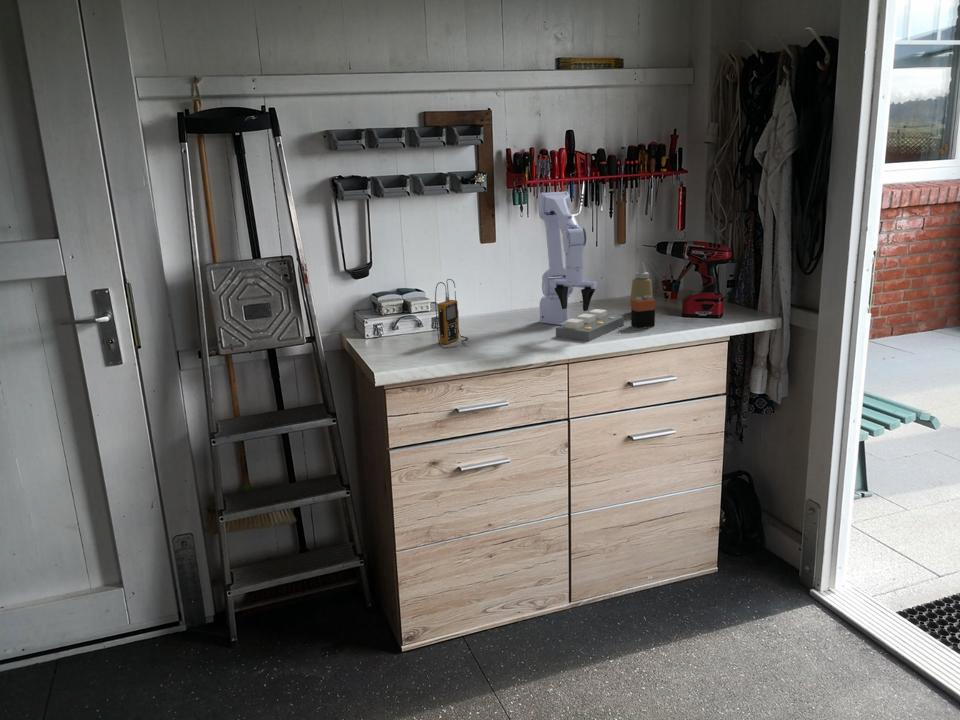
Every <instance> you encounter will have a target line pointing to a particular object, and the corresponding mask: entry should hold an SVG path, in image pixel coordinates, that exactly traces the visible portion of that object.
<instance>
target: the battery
mask: <svg viewBox="0 0 960 720" xmlns="http://www.w3.org/2000/svg"><path fill="white" fill-rule="evenodd" d="M644 297H645V298H641V297H636V299H632V301H631V304H630V307H631V309H630V310H631V311H630V313H631V315H630V325H631V326H632V327H634V328H636V329H641V328H651V327H655V324H656V323H655V322H656V299H655V298H653V299H652V298H650V297H651V296H644Z"/></svg>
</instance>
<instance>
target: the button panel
mask: <svg viewBox="0 0 960 720" xmlns="http://www.w3.org/2000/svg"><path fill="white" fill-rule="evenodd" d="M624 320H625V317H624V316H622V315H611V314H607V317H605V318H602V319H597V318H596V321H595V322H593V323H591V324H586V323H584V327H581V328H579V329H572V328H565V324H564V325H558V326H557V327H555V337H556V336H557V337H556V338H561V337H564V338H563V339H568V338H571V339H570V340H576V339H579V340H578V341H583V340H586V341H585V342H591V341H593V340H595V339H597V338H599V337H602V336H604V335H606V334H608V333H611V332H612V331H615V330H616V328H617V329H619V328H621V327H623V326H624V325H625V321H624ZM620 326H621V327H620ZM618 327H619V328H618ZM614 329H615V330H614ZM607 332H608V333H607ZM605 333H606V334H605ZM603 334H604V335H603ZM601 335H602V336H601ZM592 339H593V340H592ZM590 340H591V341H590Z"/></svg>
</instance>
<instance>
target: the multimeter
mask: <svg viewBox="0 0 960 720" xmlns="http://www.w3.org/2000/svg"><path fill="white" fill-rule="evenodd" d="M448 281H452V283H453V285H454V287H456V283H455V281H454V280H453V279H452V278H448V279H446V284H445V283H444V282H442V281H441V282H440V281H439V282H437V284H436V287H435V292H434V293H435V296H434V303H435V305H434V306H435V319H436V331H437V338H438V339H437V340H438V344H439V347H440V348H441V349H450V348H449V347H451V348H458V347H459V346H462V344H464V346H468V344H467V342H465V341H467V340H468V339H469V338H468V337H466V336H462V335H461V334H460V328H459V327H460V326H459V325H460V323H459V308H458V306H459V305H458V300H457V295H456V292H454V299H450V293H449V284H448ZM439 284H443V285H444V287H445V290H446V292H445V298H444V299H445V301H442V302H438V304H437V289H438V288H437V287H438V285H439ZM460 337H461V338H465V339H461V342H462V344H455V345H450V346H446V347H445V346H444V347H443V346H442V345H449V344H450V343H453V342H456V341H459V339H460ZM441 344H442V345H441Z"/></svg>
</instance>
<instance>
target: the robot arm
mask: <svg viewBox="0 0 960 720" xmlns="http://www.w3.org/2000/svg"><path fill="white" fill-rule="evenodd" d="M570 206H571V197H570V193H569V192H568V191H567V190H564V191H553V192H551V191H550V192H540V193H539V194H538V196H537V209H538V215H539V219H540V220H543V221H544V226H545V233H546V234H545V236H546V246H547V258H548V269H546V271H545V272H544V273H543V274H542V276H541V292H542V295H543V296H542V297H541V298H540V300H539V320H538V323H541V324H550V325H556V326H557V325H558V326H561V325H564V324H565V321H567V320H569V319H570V318H569V298H570V296H571V295H572V293H573V292H574V288H581V289H580V292H581V296H582V297H581V299H582V311H583V312H587V311H589V308H590V304H591V300H592V297H593V295H594V293H595V291H596V289H597V288H598V282H597V281H593V280H592V281H591V280H586V279H585V263H584V261H585V260H584V259H585V253H584V248H585V246H586V244H587V240H588V239H587V232H586V229H585V227H582V226H580V225H579V223H578V220H577V218H576V217H575V216H574V215H573V214H572V213H570V211H569V209H570ZM561 233H562V239H561ZM561 240H562V241H561ZM562 244H563V249H562ZM562 250H563V251H564V253H565V255H564V257H565V267H564V263H563V262H564V261H563V253H562V252H563V251H562ZM582 288H583V289H582Z"/></svg>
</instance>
